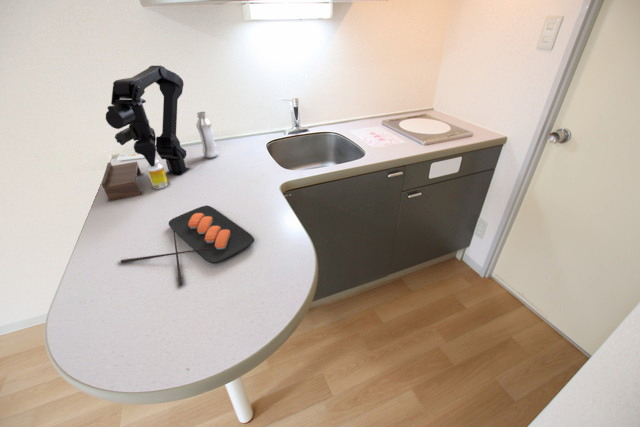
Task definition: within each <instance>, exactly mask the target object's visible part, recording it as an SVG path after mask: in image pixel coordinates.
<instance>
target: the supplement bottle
mask: <svg viewBox="0 0 640 427" xmlns="http://www.w3.org/2000/svg"><path fill="white" fill-rule="evenodd" d="M146 164H147V167H146V172H147V175H148V177H149V180H150V182H151V185H152V187H153V189H155V190H159V189H164V188H166V187H167V186H168V185H169V181H168V177H167V174H166V172H165V168H164V166H163V165H162V164H161V163H160V161H159V159H156V158H155V165H154V166H153V167H151V166H150V164H149V163H148V161H147V162H146Z"/></svg>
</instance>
